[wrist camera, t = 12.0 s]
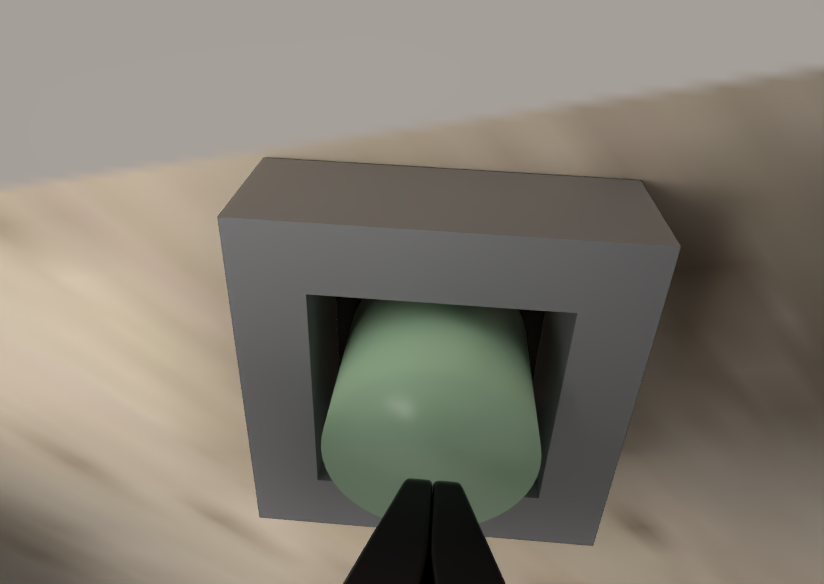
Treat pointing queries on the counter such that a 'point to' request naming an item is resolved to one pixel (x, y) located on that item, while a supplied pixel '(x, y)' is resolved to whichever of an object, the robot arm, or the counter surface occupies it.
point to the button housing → (444, 284)
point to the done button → (433, 405)
